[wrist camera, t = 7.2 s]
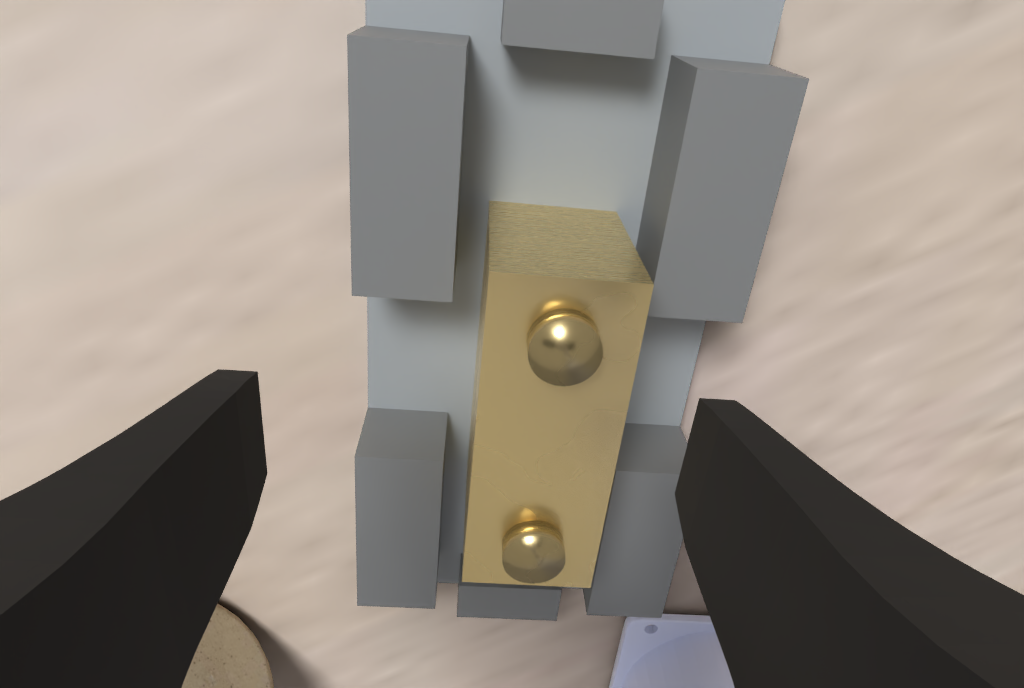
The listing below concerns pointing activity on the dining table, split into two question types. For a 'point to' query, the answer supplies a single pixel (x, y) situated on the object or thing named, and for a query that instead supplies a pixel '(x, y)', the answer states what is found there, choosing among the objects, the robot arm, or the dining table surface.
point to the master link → (549, 391)
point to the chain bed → (553, 182)
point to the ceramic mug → (228, 656)
